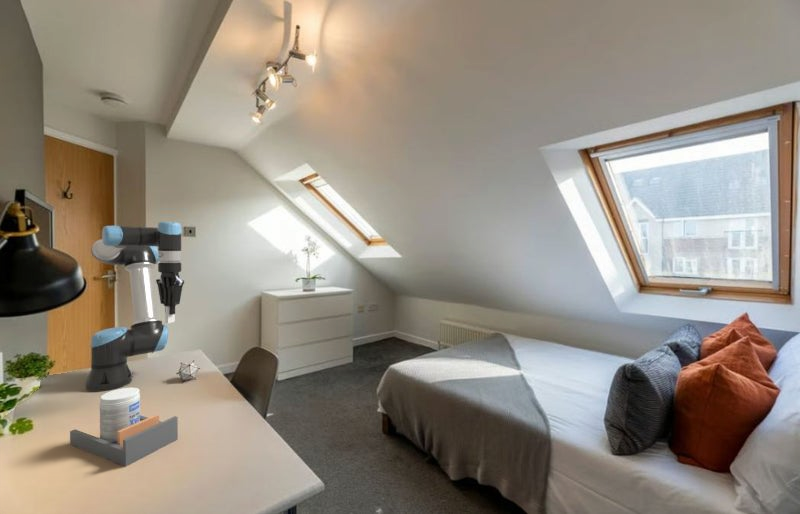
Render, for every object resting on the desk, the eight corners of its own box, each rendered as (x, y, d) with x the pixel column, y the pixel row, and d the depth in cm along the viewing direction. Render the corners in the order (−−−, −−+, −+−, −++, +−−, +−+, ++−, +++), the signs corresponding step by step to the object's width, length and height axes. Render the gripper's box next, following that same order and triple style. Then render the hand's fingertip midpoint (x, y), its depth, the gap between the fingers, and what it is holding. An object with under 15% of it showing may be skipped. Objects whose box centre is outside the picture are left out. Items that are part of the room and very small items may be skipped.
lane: (70, 444, 104) (69, 421, 103) (123, 422, 117) (123, 401, 117) (125, 466, 94) (125, 440, 94) (177, 439, 107) (177, 416, 107)
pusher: (117, 455, 98) (117, 431, 98) (156, 436, 108) (156, 414, 108) (126, 459, 97) (126, 434, 96) (165, 439, 107) (165, 417, 106)
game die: (182, 389, 153) (167, 372, 152) (198, 376, 161) (183, 359, 159) (193, 382, 149) (177, 365, 148) (208, 369, 157) (193, 352, 155)
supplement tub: (138, 444, 104) (138, 395, 104) (97, 454, 99) (96, 403, 99) (141, 429, 112) (141, 384, 112) (103, 438, 107) (102, 390, 107)
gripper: (148, 261, 134) (149, 322, 135) (171, 262, 129) (172, 326, 130) (168, 261, 141) (168, 319, 142) (190, 262, 136) (190, 322, 137)
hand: (170, 322), depth 136 cm, fingers closed
